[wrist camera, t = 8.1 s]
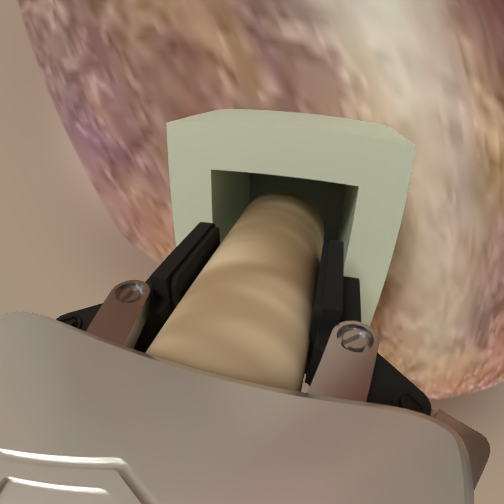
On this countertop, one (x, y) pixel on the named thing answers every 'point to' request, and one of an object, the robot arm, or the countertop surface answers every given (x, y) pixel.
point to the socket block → (296, 179)
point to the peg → (252, 298)
